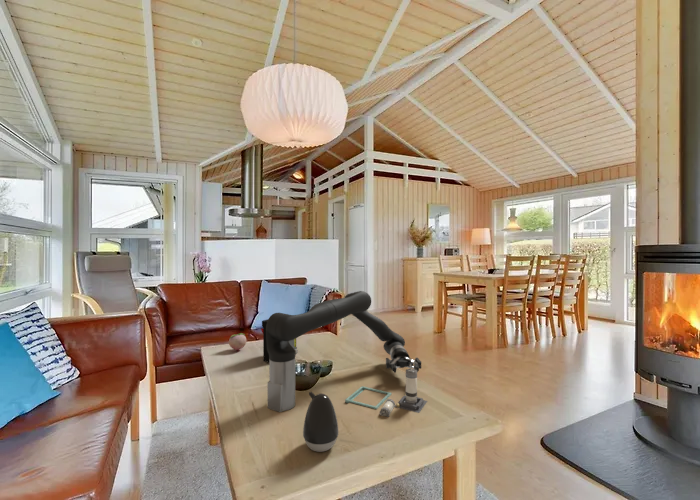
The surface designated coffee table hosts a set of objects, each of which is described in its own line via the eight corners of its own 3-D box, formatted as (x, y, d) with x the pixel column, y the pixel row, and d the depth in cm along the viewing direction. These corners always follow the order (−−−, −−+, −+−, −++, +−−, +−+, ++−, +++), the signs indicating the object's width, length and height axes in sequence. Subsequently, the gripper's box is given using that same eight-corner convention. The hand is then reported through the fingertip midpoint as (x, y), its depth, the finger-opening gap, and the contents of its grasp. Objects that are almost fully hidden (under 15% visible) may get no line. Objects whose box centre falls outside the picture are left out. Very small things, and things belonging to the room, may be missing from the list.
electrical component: (275, 364, 167) (275, 323, 166) (260, 360, 172) (260, 320, 172) (299, 354, 182) (299, 316, 181) (284, 351, 187) (284, 314, 186)
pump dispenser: (323, 432, 107) (323, 383, 107) (345, 446, 100) (345, 394, 99) (295, 445, 100) (295, 393, 100) (317, 462, 93) (317, 406, 92)
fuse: (388, 420, 115) (389, 410, 115) (379, 417, 116) (380, 407, 116) (394, 409, 122) (395, 400, 122) (385, 406, 124) (386, 397, 123)
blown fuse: (414, 407, 121) (415, 373, 121) (403, 404, 123) (404, 371, 123) (418, 402, 125) (418, 369, 125) (407, 400, 127) (407, 367, 127)
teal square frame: (376, 412, 120) (376, 407, 120) (345, 403, 126) (345, 399, 126) (391, 396, 132) (391, 392, 132) (362, 389, 138) (362, 386, 138)
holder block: (419, 415, 118) (419, 409, 118) (394, 409, 122) (394, 403, 122) (427, 403, 126) (427, 397, 126) (404, 398, 131) (404, 392, 131)
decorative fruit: (236, 354, 181) (236, 335, 181) (226, 351, 185) (226, 333, 185) (250, 349, 189) (250, 331, 189) (240, 347, 193) (240, 329, 193)
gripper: (383, 347, 151) (388, 360, 135) (415, 347, 151) (424, 360, 135) (383, 364, 151) (388, 379, 135) (415, 364, 152) (424, 379, 135)
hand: (406, 369), depth 135 cm, fingers open, 8 cm apart
